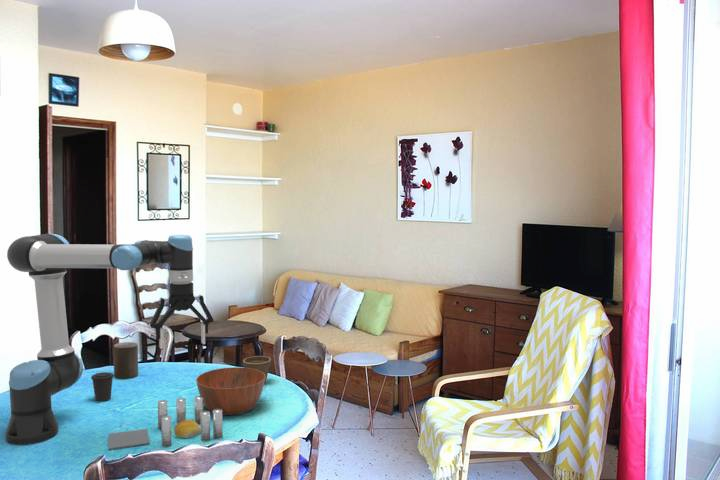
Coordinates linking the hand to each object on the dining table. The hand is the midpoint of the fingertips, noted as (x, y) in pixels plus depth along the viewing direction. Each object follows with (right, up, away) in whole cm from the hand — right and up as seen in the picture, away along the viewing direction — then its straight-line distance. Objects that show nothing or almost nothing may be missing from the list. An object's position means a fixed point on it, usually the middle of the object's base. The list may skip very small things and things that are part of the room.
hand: (182, 345), depth 202 cm
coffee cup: (-39, -26, +31) cm, 56 cm away
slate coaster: (-16, -29, -6) cm, 34 cm away
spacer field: (+2, -29, 0) cm, 29 cm away
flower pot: (+16, -25, +51) cm, 59 cm away
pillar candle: (-41, -23, +59) cm, 76 cm away
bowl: (+11, -27, +23) cm, 38 cm away
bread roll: (+1, -29, 0) cm, 29 cm away
